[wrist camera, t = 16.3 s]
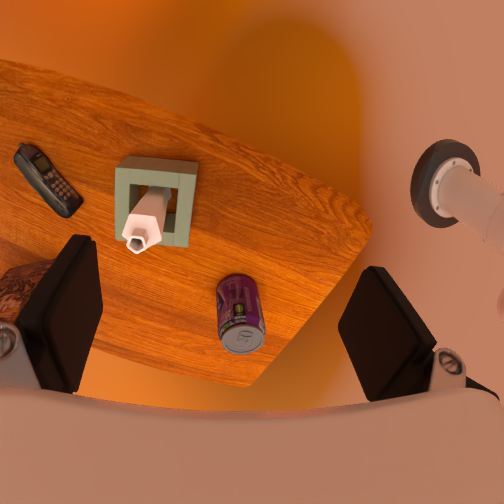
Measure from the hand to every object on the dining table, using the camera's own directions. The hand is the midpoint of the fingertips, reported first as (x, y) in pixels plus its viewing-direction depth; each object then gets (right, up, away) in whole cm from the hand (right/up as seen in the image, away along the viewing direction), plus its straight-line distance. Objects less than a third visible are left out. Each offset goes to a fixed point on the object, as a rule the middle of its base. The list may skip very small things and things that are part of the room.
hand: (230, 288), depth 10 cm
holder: (-13, +10, +32) cm, 35 cm away
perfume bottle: (-12, +10, +32) cm, 36 cm away
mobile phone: (-30, +13, +27) cm, 43 cm away
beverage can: (-2, -5, +43) cm, 43 cm away
